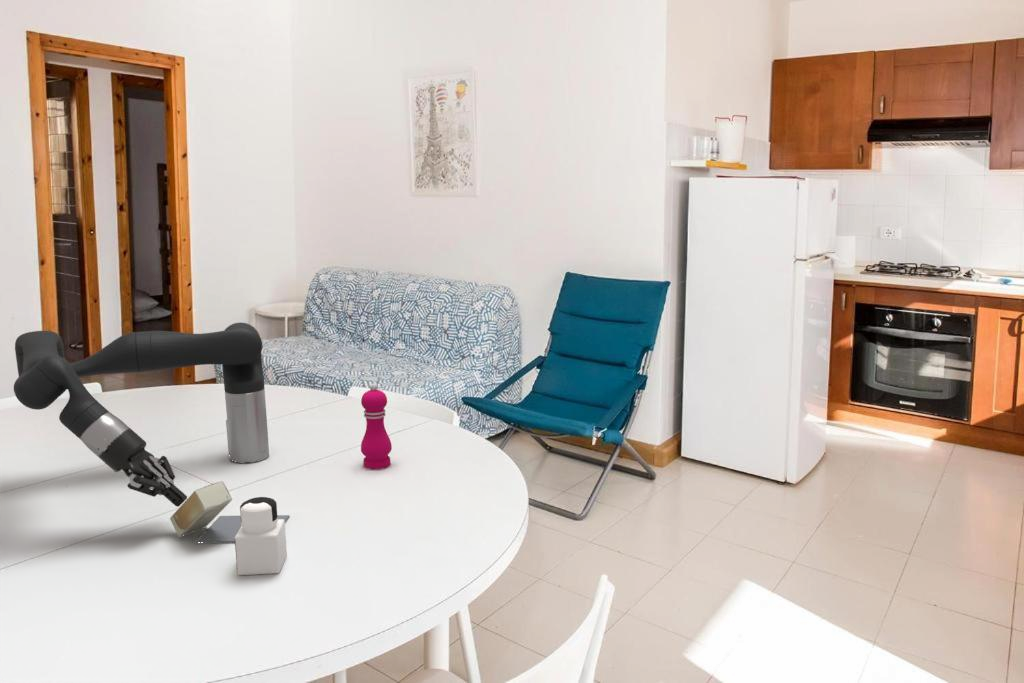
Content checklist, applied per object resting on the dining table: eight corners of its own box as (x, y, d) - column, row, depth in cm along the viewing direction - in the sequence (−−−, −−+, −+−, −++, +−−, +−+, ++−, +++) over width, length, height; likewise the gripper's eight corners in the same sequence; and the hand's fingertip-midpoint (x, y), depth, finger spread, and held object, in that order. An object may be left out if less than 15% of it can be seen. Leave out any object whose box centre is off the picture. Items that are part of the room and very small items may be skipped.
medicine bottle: (246, 557, 146) (241, 494, 144) (287, 555, 146) (283, 492, 144) (237, 576, 139) (231, 509, 137) (279, 574, 139) (274, 508, 137)
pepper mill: (386, 471, 189) (382, 387, 186) (356, 469, 191) (352, 386, 187) (396, 461, 196) (393, 380, 193) (368, 459, 198) (364, 379, 194)
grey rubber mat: (196, 543, 152) (196, 541, 152) (220, 517, 164) (219, 515, 164) (271, 542, 152) (271, 540, 152) (289, 517, 163) (289, 515, 163)
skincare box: (197, 507, 160) (224, 479, 153) (206, 527, 159) (234, 499, 153) (167, 518, 155) (194, 489, 148) (177, 538, 154) (204, 510, 147)
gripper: (118, 444, 161) (184, 502, 164) (82, 466, 148) (155, 529, 151) (142, 418, 160) (208, 477, 162) (108, 438, 147) (181, 502, 149)
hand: (182, 502), depth 156 cm, fingers closed
